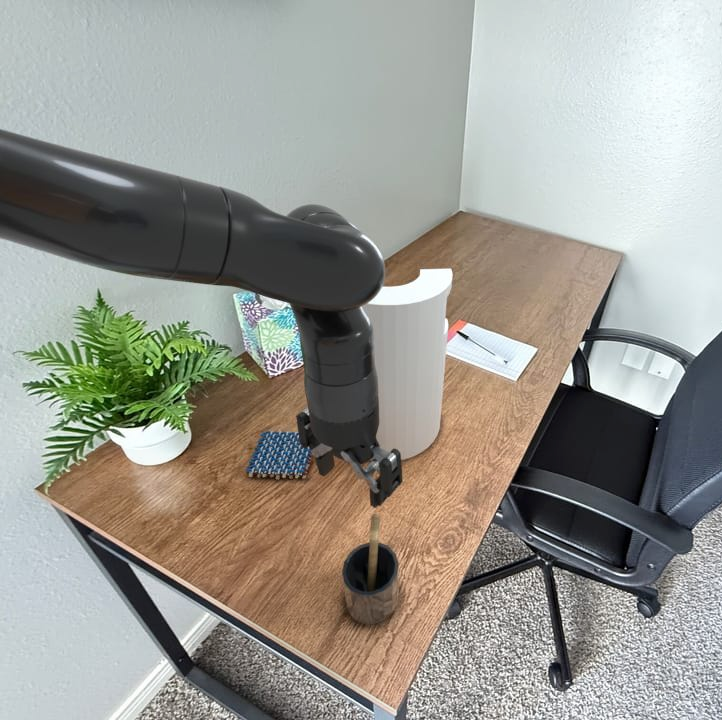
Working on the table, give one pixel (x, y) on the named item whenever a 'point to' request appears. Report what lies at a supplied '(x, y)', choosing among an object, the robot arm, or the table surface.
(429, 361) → the white curved half cylinder
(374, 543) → the stirrer
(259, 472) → the woven mat
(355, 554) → the cup
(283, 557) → the table surface
